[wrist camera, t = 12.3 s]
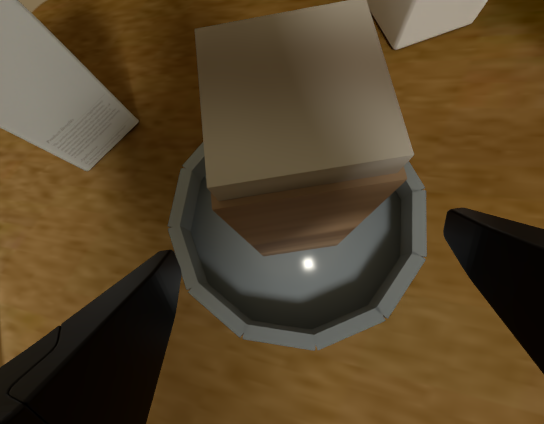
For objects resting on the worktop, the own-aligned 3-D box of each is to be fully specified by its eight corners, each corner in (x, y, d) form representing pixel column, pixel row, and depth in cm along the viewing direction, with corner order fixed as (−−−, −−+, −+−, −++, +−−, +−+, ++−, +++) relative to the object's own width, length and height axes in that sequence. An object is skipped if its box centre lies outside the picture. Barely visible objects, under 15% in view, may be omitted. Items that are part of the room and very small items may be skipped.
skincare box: (111, 96, 24) (-65, -83, 12) (144, 124, 23) (-13, -43, 11) (57, 146, 23) (-189, 4, 11) (89, 178, 22) (-144, 56, 10)
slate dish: (456, 279, 18) (481, 278, 15) (229, 378, 17) (218, 393, 15) (344, 91, 22) (351, 68, 20) (160, 167, 22) (144, 153, 19)
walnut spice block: (336, 245, 18) (426, 161, 6) (263, 256, 19) (199, 197, 6) (322, 177, 20) (371, -10, 7) (254, 188, 20) (186, 24, 7)
